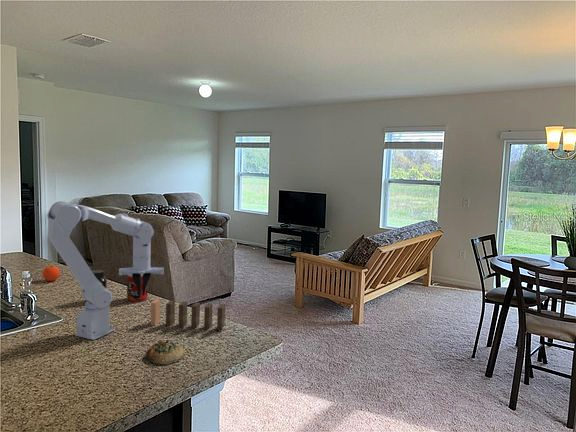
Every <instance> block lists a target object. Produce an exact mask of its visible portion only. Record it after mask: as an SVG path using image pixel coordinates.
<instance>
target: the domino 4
mask: <svg viewBox="0 0 576 432" xmlns="http://www.w3.org/2000/svg"><path fill="white" fill-rule="evenodd" d="M200 312H201V303H200V302H196V301H195V302H194V303H192V305H191V319H190V320H191V322H190V323H191V324H190V325H191V326H190V327H191V328H196V329H198V327H199V326H200V325H199V324H200V323H201V322H200V319H201V318H200V316H201V313H200ZM198 325H199V326H198ZM197 326H198V327H197ZM191 328H190V329H191Z"/></svg>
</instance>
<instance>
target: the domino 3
mask: <svg viewBox="0 0 576 432" xmlns="http://www.w3.org/2000/svg"><path fill="white" fill-rule="evenodd" d="M186 325H188V301H183V300H182V302H180V304H179V305H178V328H179V327H184V326H185V327H186ZM185 327H184V328H185Z"/></svg>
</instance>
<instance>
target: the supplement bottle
mask: <svg viewBox="0 0 576 432" xmlns="http://www.w3.org/2000/svg"><path fill="white" fill-rule="evenodd" d="M91 271H92V272H93V274H94V275H95V277H96V278H97V279H98V280H99V281H100V282H101V283H102V285H103V286H104V287H105V288H106V289H108V280H107V277H105V270H103V269H102V270H101V269H95V270H91Z"/></svg>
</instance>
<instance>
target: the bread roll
mask: <svg viewBox="0 0 576 432" xmlns="http://www.w3.org/2000/svg"><path fill="white" fill-rule="evenodd" d="M185 354H186V350H185V349H184V348H183V347H182V346H180V345H178V344H177V343H176V342H175V341H174V342H173V341H171V340H169V339H168V340H166V341H162V340H159V341H158V342H155V343H154V344H152V346H151V347H149V348H148V349H147V351H146V352H145V357H146V359H147V361H148V360H149V362H150V361H151V362H150V363H154V364H155V363H158V364H157V365H160V364H163V363H171V362H174V363H176V362H175V361H177V360H179V359H180V358H181V359H182V358H183V356H184V355H185ZM181 359H180V360H181ZM180 360H179V361H180ZM177 362H178V361H177Z"/></svg>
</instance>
